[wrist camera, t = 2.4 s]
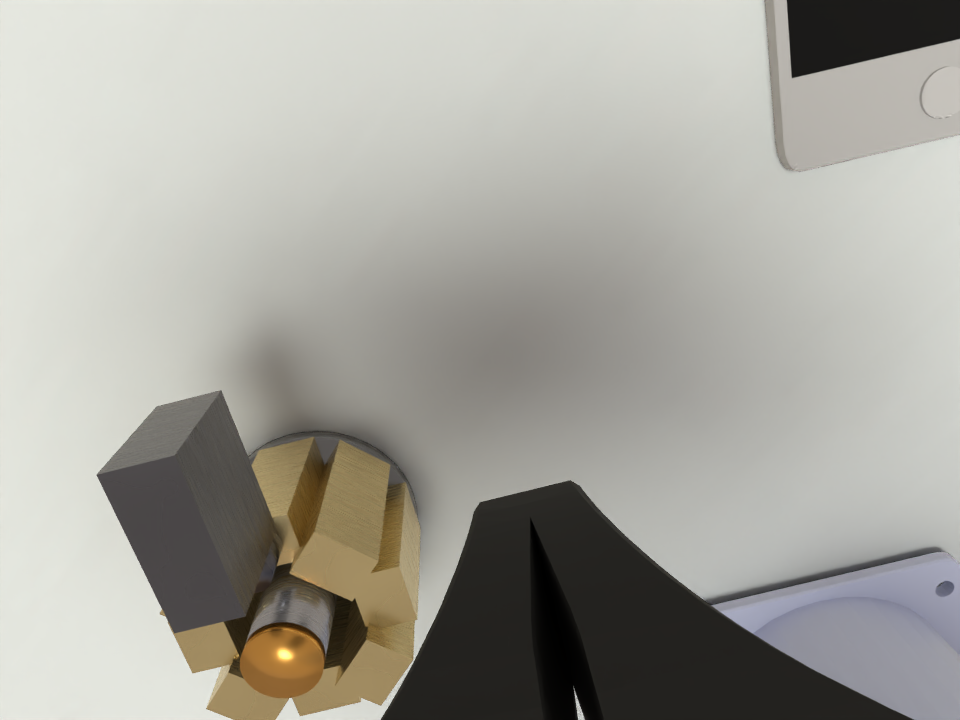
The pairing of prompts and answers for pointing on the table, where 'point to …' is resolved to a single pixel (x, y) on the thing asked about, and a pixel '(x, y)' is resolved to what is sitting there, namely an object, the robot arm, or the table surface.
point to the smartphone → (861, 77)
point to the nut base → (297, 607)
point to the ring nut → (268, 549)
